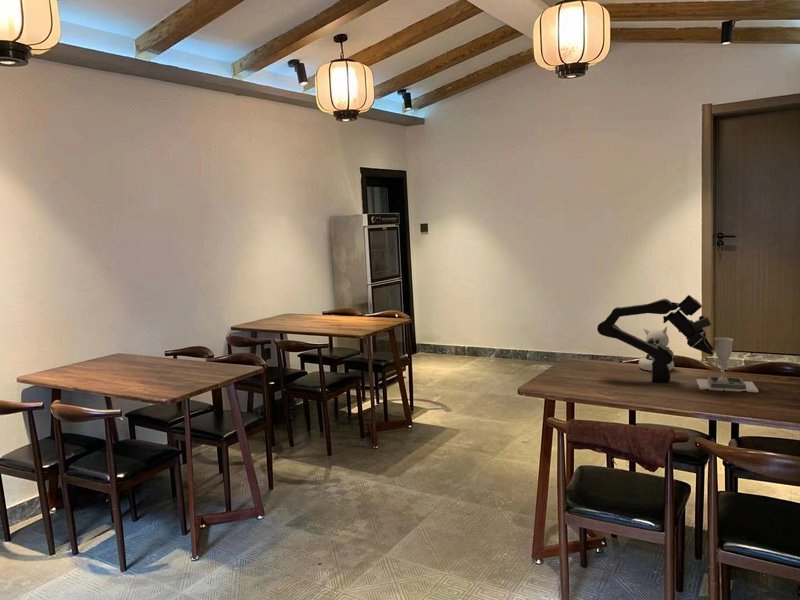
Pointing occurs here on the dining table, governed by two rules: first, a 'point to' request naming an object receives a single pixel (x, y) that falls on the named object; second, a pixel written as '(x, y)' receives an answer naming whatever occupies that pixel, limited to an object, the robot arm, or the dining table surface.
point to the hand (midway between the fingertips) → (712, 351)
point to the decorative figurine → (655, 339)
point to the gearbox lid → (734, 385)
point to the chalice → (723, 355)
